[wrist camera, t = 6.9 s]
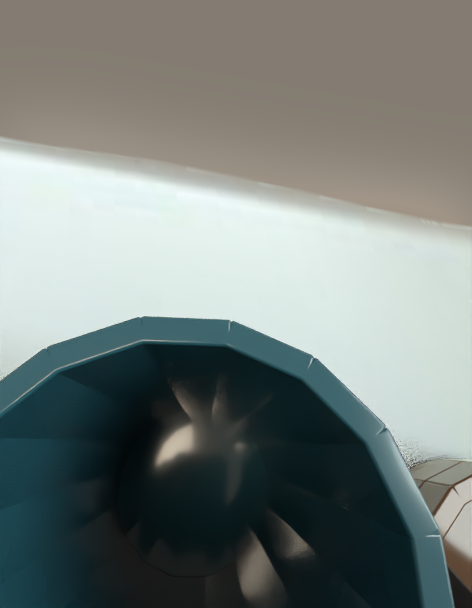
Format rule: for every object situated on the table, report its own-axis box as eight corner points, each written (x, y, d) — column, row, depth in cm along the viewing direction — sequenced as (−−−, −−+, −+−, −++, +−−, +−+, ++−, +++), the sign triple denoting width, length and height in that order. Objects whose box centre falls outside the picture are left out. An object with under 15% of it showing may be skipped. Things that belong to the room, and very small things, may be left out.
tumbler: (300, 536, 13) (594, 824, 3) (138, 619, 12) (-215, 1536, 2) (239, 381, 15) (304, 261, 5) (95, 437, 14) (-186, 420, 4)
